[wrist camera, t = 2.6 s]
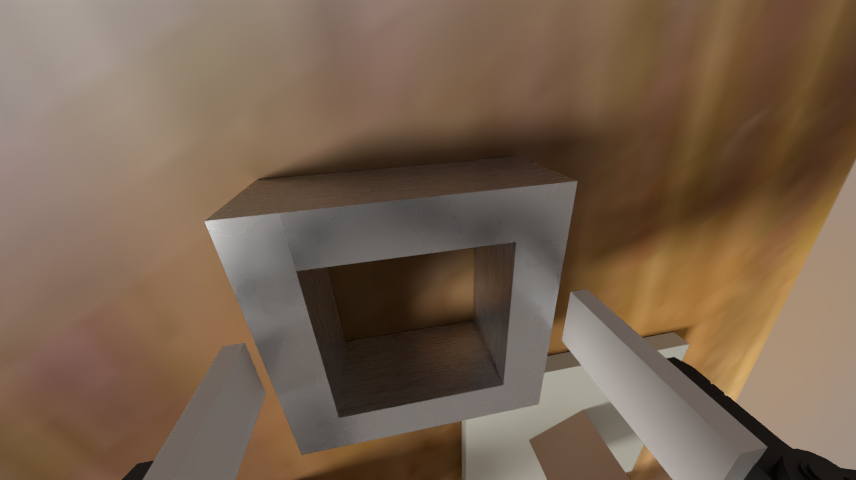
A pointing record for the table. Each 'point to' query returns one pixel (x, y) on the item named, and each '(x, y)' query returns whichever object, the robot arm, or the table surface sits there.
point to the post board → (555, 404)
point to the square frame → (384, 239)
